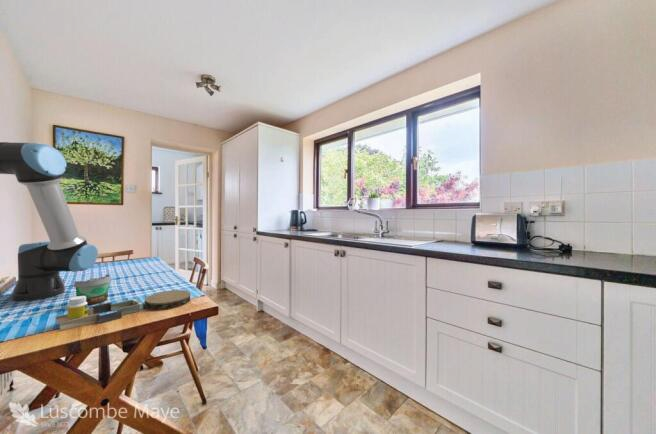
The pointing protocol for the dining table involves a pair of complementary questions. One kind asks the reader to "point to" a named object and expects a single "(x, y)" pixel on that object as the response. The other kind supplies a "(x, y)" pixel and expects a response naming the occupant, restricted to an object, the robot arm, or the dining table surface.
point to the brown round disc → (167, 300)
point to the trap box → (94, 315)
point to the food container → (93, 289)
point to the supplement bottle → (77, 307)
